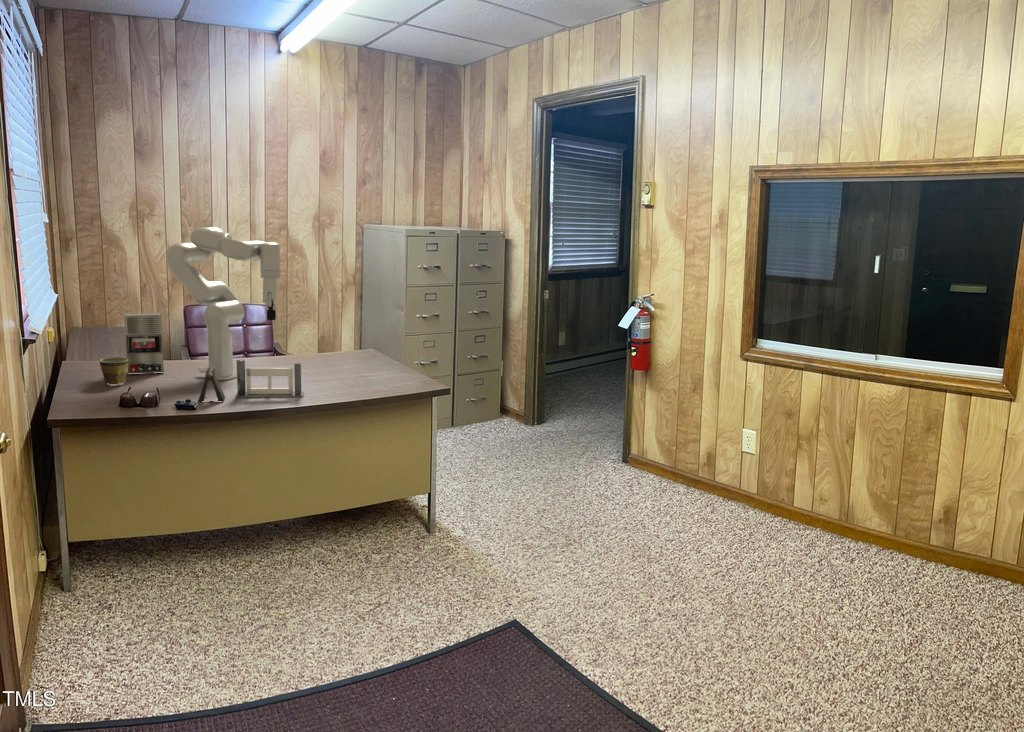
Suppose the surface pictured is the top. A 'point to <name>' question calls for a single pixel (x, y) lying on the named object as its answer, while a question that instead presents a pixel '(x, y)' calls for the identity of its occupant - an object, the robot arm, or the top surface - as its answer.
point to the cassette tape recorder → (144, 343)
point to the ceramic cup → (114, 369)
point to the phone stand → (215, 383)
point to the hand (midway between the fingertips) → (271, 319)
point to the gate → (269, 380)
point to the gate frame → (243, 394)
